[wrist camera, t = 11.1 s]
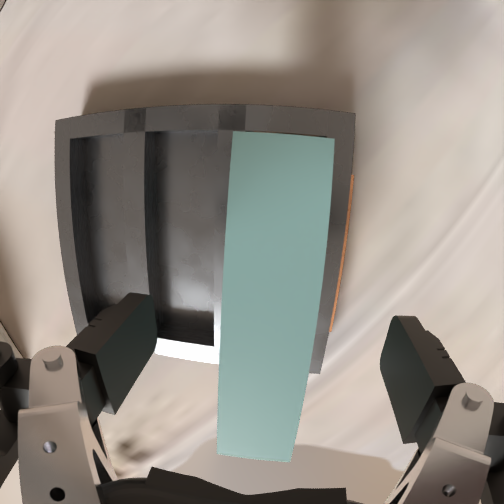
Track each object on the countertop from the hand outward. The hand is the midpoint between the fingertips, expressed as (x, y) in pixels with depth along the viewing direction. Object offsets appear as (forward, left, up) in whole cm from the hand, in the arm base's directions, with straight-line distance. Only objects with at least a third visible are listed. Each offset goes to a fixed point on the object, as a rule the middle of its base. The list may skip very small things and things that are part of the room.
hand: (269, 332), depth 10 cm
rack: (0, -6, -12) cm, 13 cm away
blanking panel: (+1, 0, -10) cm, 10 cm away
